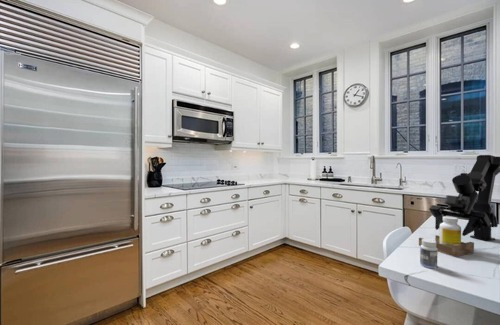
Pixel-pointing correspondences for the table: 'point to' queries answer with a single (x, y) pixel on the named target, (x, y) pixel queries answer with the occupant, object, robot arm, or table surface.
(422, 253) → the pill bottle
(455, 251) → the bay
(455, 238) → the supplement bottle
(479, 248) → the table surface
